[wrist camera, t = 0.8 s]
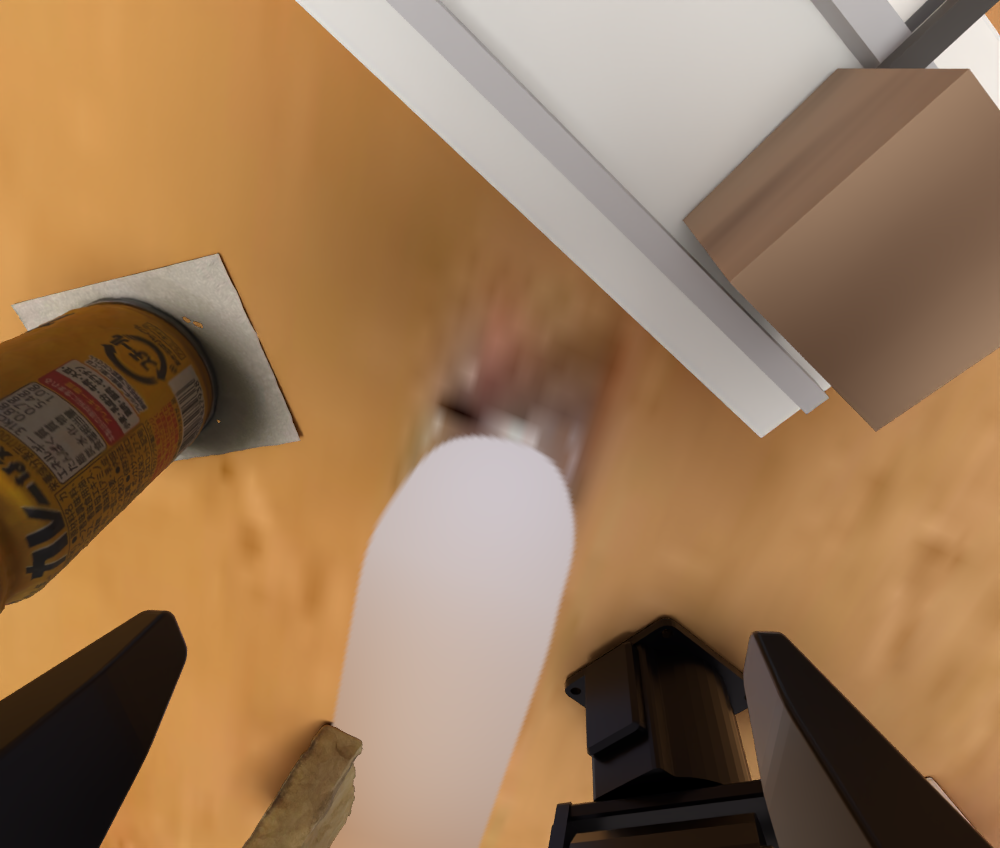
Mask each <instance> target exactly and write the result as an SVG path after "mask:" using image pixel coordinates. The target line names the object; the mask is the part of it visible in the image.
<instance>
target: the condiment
mask: <svg viewBox="0 0 1000 848" xmlns="http://www.w3.org/2000/svg"><path fill="white" fill-rule="evenodd" d="M11 306H12V307H13V309H14V310H15V311H16V313H17V314H18V315H19V318H20V320H21V321H22V322H23V324H24V326H25V327H26V329H27V330H28V331H27V332H25V333H24V334H21V335H20V336H17V337H15V338H13V339H10V340H7V341H5V342H2V343H1V344H0V613H1V612H2V611H3V609H4V608H5V605H9V604H12V603H17V602H19V601H21V600H23V599H27V598H29V597H31V596H33V595H34V594H35V593H37V592H38V591H40V590H41V589H42V588H44V587H45V585H46V584H47V583H48V582H49V581H50V580H52V579H53V578H54V577H55V576H56V575H57V574H58V573H59V572H60V571H61V570H62V569H63V568H64V567H66V566H67V565H68V564H69V562H70V561H71V560H73V559H74V558H75V557H76V556H77V555H78V553H79V552H80V551H81V550H82V549H84V548H85V547H86V546H88V544H89V543H90V542H91V541H92V540H93V539H94V538H95V537H96V536H97V535H98V534H99V533H100V532H101V531H102V530H103V529H104V528H105V527H106V526H107V525H108V524H109V523H110V522H111V521H112V520H113V519H114V518H115V517H116V516H117V515H118V514H119V513H120V512H122V511H123V510H124V509H125V508H126V507H127V506H128V505H129V504H130V503H131V502H132V501H133V500H134V499H135V497H136V496H138V495H139V494H140V493H141V492H142V491H143V490H144V489H145V488H146V487H147V486H148V485H149V484H150V483H151V482H152V481H153V480H154V479H155V478H156V477H157V476H158V475H159V474H160V473H161V472H162V471H163V470H164V469H166V468H167V467H168V466H169V465H170V464H171V463H172V462H173V461H176V460H182V459H190V458H194V457H203V456H209V455H220V454H225V453H229V452H233V451H241V450H245V449H249V448H256V447H262V446H271V445H280V444H284V443H289V442H295V441H300V439H299V436H298V433H297V431H296V428H295V426H294V424H293V422H292V417H291V414H290V412H289V410H288V408H287V405H286V403H285V400H284V398H283V395H282V393H281V391H280V389H279V387H278V385H277V382H276V378H275V376H274V374H273V372H272V370H271V368H270V365H269V363H268V361H267V359H266V357H265V354H264V352H263V350H262V348H261V345H260V343H259V338H258V337H257V333H256V332H255V331H254V329H253V327H252V326H251V324H250V322H249V320H248V318H247V316H246V313H245V311H244V309H243V307H242V304H241V301H240V299H239V296H238V294H237V291H236V290H235V288H234V286H233V285H232V283H231V281H230V278H229V276H228V274H227V272H226V270H225V268H224V265H223V263H222V261H221V259H220V256H219V254H214V255H210V256H206V257H202V258H199V259H195V260H191V261H186V262H182V263H178V264H174V265H171V266H167V267H163V268H159V269H155V270H150V271H146V272H142V273H139V274H134V275H130V276H126V277H121V278H117V279H113V280H109V281H105V282H100V283H96V284H92V285H88V286H85V287H81V288H76V289H72V290H68V291H64V292H60V293H56V294H52V295H48V296H45V297H40V298H36V299H32V300H28V301H24V302H21V303H17V304H14V305H11ZM184 316H185V317H186V318H188V319H190V321H191V322H190V323H186V322H185V321H184V320H183V317H184ZM194 321H196V322H199V323H201V324H202V325H203V328H199V327H197V326H195V325H194V324H193V322H194ZM217 420H220V421H221V422H220V423H218V422H217Z"/></svg>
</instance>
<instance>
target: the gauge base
mask: <svg viewBox="0 0 1000 848" xmlns="http://www.w3.org/2000/svg"><path fill="white" fill-rule="evenodd" d="M295 1H296V2H298V3H299V4H300V5H301V6H302V7H303V8H304V9H305V10H306V11H307V12H308V13H309V14H310V15H311V16H312V17H313V18H315V19H316V20H317V21H318V22H319V23H320V24H321V25H322V26H323V27H324V28H325V29H326V30H327V31H328V32H329V33H331V34H332V35H333V36H334V37H335V38H336V39H337V40H338V41H339V42H340V43H341V44H342V45H343V46H344V47H345V48H346V49H348V50H349V51H350V52H351V53H352V54H353V55H354V56H355V57H356V58H357V59H358V60H359V61H360V62H361V63H362V64H364V65H365V66H366V67H367V68H368V69H369V70H370V71H371V72H372V73H373V74H374V75H375V76H376V77H377V78H378V79H379V80H381V81H382V82H383V83H384V84H385V85H386V86H387V87H388V88H389V89H390V90H391V91H392V92H393V93H394V94H395V95H396V96H398V97H399V98H400V99H401V100H402V101H403V102H404V103H405V104H406V105H407V106H408V107H409V108H410V109H411V110H412V111H414V112H415V113H416V114H417V115H418V116H419V117H420V118H421V119H422V120H423V121H424V122H425V123H426V124H427V125H428V126H429V127H431V128H432V129H433V130H434V131H435V132H436V133H437V134H438V135H439V136H440V137H441V138H442V139H443V140H444V141H445V142H447V143H448V144H449V145H450V146H451V147H452V148H453V149H454V150H455V151H456V152H457V153H458V154H459V155H460V156H461V157H462V158H464V159H465V160H466V161H467V162H468V163H469V164H470V165H471V166H472V167H473V168H474V169H475V170H476V171H477V172H478V173H479V174H481V175H482V176H483V177H484V178H485V179H486V180H487V181H488V182H489V183H490V184H491V185H492V186H493V187H494V188H495V189H497V190H498V191H499V192H500V193H501V194H502V195H503V196H504V197H505V198H506V199H507V200H508V201H509V202H510V203H511V204H512V205H514V206H515V207H516V208H517V209H518V210H519V211H520V212H521V213H522V214H523V215H524V216H525V217H526V218H527V219H528V220H530V221H531V222H532V223H533V224H534V225H535V226H536V227H537V228H538V229H539V230H540V231H541V232H542V233H543V234H544V235H545V236H547V237H548V238H549V239H550V240H551V241H552V242H553V243H554V244H555V245H556V246H557V247H558V248H559V249H560V250H561V251H562V252H564V253H565V254H566V255H567V256H568V257H569V258H570V259H571V260H572V261H573V262H574V263H575V264H576V265H577V266H578V267H580V268H581V269H582V270H583V271H584V272H585V273H586V274H587V275H588V276H589V277H590V278H591V279H592V280H593V281H594V282H595V283H597V284H598V285H599V286H600V287H601V288H602V289H603V290H604V291H605V292H606V293H607V294H608V295H609V296H610V297H611V298H612V299H614V300H615V301H616V302H617V303H618V304H619V305H620V306H621V307H622V308H623V309H624V310H625V311H626V312H627V313H628V314H630V315H631V316H632V317H633V318H634V319H635V320H636V321H637V322H638V323H639V324H640V325H641V326H642V327H643V328H644V329H645V330H647V331H648V332H649V333H650V334H651V335H652V336H653V337H654V338H655V339H656V340H657V341H658V342H659V343H660V344H661V345H663V346H664V347H665V348H666V349H667V350H668V351H669V352H670V353H671V354H672V355H673V356H674V357H675V358H676V359H677V360H678V361H680V362H681V363H682V364H683V365H684V366H685V367H686V368H687V369H688V370H689V371H690V372H691V373H692V374H693V375H694V376H695V377H697V378H698V379H699V380H700V381H701V382H702V383H703V384H704V385H705V386H706V387H707V388H708V389H709V390H710V391H711V392H713V393H714V394H715V395H716V396H717V397H718V398H719V399H720V400H721V401H722V402H723V403H724V404H725V405H726V406H727V407H728V408H730V409H731V410H732V411H733V412H734V413H735V414H736V415H737V416H738V417H739V418H740V419H741V420H742V421H743V422H744V423H746V424H747V425H748V426H749V427H750V428H751V429H752V430H753V431H754V432H755V433H756V434H757V435H758V436H759V437H760V438H762V437H763V436H765V435H766V434H767V433H769V432H770V431H771V430H773V429H774V428H776V427H777V426H778V425H780V424H781V423H782V422H784V421H785V420H786V419H788V418H789V417H790V416H792V415H793V414H794V413H796V412H797V411H798V410H800V409H802V410H803V411H804V412H805V413H806V414H808V413H809V412H811V411H812V410H813V409H815V408H816V407H817V406H819V405H820V404H821V403H823V402H824V401H826V400H827V399H828V398H829V397H828V396H827V394H826V393H825V392H824V391H825V390H827V389H828V388H830V387H831V385H830V384H829V383H828V382H827V381H826V380H825V379H824V378H823V377H822V376H821V375H820V374H819V373H818V372H817V371H816V370H815V369H814V368H813V367H812V366H811V365H810V364H809V363H808V362H807V361H806V360H805V359H804V358H803V357H802V356H801V355H800V354H799V353H798V352H797V351H796V350H795V349H794V348H793V347H792V346H791V345H790V344H789V343H788V342H787V340H786V339H785V338H784V337H783V336H782V335H781V334H780V333H779V332H778V331H777V330H776V329H775V328H774V327H773V326H772V325H771V324H770V323H769V322H768V321H767V320H766V319H765V318H764V317H763V316H762V315H761V314H760V313H759V312H758V311H757V310H756V309H755V308H754V307H753V306H752V305H751V304H750V303H749V302H748V301H747V300H746V299H745V298H744V297H743V296H742V295H741V294H740V293H739V292H738V291H737V289H736V288H735V287H734V286H733V285H732V284H731V283H730V282H729V281H728V280H727V278H726V277H725V276H724V274H723V273H722V272H721V270H720V269H719V268H718V266H717V265H716V264H715V262H714V261H713V260H712V258H711V257H710V256H709V254H708V253H707V252H706V250H705V249H704V248H703V246H702V245H701V244H700V243H699V241H698V240H697V239H696V237H695V236H694V235H693V233H692V232H691V231H690V229H689V228H688V227H687V225H686V224H685V223H684V221H683V219H684V218H685V217H686V216H687V215H688V214H689V213H691V212H692V211H693V210H694V209H695V208H696V207H697V206H698V205H699V204H700V203H701V202H702V201H703V200H704V199H705V198H706V197H707V196H708V195H709V194H710V193H711V192H712V191H713V190H714V189H715V188H716V187H717V186H718V185H719V184H720V183H721V182H722V181H723V180H724V179H725V178H726V177H727V176H728V175H729V174H730V173H731V172H732V171H733V170H734V169H735V168H736V167H737V166H739V165H740V164H741V163H742V162H743V161H744V160H745V159H746V158H747V157H748V156H749V155H750V154H751V153H752V152H753V151H754V150H755V149H756V148H757V147H758V146H759V145H760V144H761V143H762V142H763V141H764V140H765V139H766V138H767V137H768V136H769V135H770V134H771V133H772V132H773V131H774V130H775V129H776V128H777V127H778V126H779V125H780V124H781V123H782V122H783V121H784V120H785V119H787V118H788V117H789V116H790V115H791V114H792V113H793V112H794V111H795V110H796V109H797V108H798V107H799V106H800V105H801V104H802V103H803V102H804V101H805V100H806V99H807V98H808V97H809V96H810V95H811V94H812V93H813V92H814V91H815V90H816V89H817V88H818V87H819V86H820V85H821V84H822V83H823V82H824V81H825V80H826V79H827V78H828V77H829V76H830V75H831V74H832V73H833V72H835V71H836V70H837V69H838V68H864V69H876V68H877V67H878V66H879V65H880V64H881V63H882V62H883V61H884V60H885V59H886V58H887V57H888V56H889V55H890V54H891V53H892V52H893V51H894V50H896V49H897V48H898V47H899V46H900V45H901V44H902V43H903V42H904V41H905V40H906V39H907V38H908V37H909V36H910V35H911V34H912V33H913V32H914V31H915V30H917V29H918V28H919V27H920V26H921V25H922V24H923V23H924V22H925V21H926V20H927V19H928V18H929V17H930V16H931V15H932V14H933V13H934V12H935V11H937V10H938V9H939V8H940V7H941V6H942V5H943V4H944V3H945V2H946V1H947V0H295ZM925 69H970V70H971V72H972V73H973V74H974V76H975V77H976V78H977V80H978V81H979V83H980V84H981V85H982V87H983V88H984V89H985V91H986V92H987V93H988V95H989V96H990V98H991V99H992V100H993V102H994V103H995V104H996V106H997V107H998V108H999V110H1000V35H999V34H998V32H997V31H996V29H995V28H994V26H993V25H992V24H991V22H990V21H989V19H988V18H987V17H986V15H985V14H984V15H983V16H982V17H981V18H979V19H978V20H977V21H976V22H975V23H974V24H973V25H972V26H971V27H970V28H969V29H968V30H966V31H965V32H964V33H963V34H962V35H961V36H960V37H959V38H958V39H957V40H956V41H954V42H953V43H952V44H951V45H950V46H949V47H948V48H947V49H946V50H945V51H944V52H942V53H941V54H940V55H939V56H938V57H937V58H936V59H935V60H934V61H933V62H932V63H930V64H929V65H928V66H927V67H926V68H925Z"/></svg>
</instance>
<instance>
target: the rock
mask: <svg viewBox="0 0 1000 848" xmlns="http://www.w3.org/2000/svg"><path fill="white" fill-rule="evenodd" d="M361 751H362V741H361V740H359V739H357V738H355V737H353V736H351V735H349V734H347V733H345V732H343V731H341V730H340V729H338V728H336V727H333V726H331V725H324V726H322V727H321V729H320V730H319V732H318V733H317V734H316V735H315V737H314V738H313V740H312V742H311V745H310V747H309V749H308V750H307V751H306V752H304V753H303V754H302V755H301V757H300V759H299V760H298V762H297V763H296V765H295V766H294V768H293V769H292V771H291V772H290V774H289V776H288V778H287V779H286V781H285V782H284V784H283V785H282V787H281V789H280V791H279V793H278V794H277V796H276V797H275V799H274V800H273V802H272V803H271V805H270V806H269V808H268V809H267V811H266V812H265V814H264V816H263V817H262V819H261V820H260V821H259V823H258V825H257V827H256V828H255V830H254V832H253V833H252V835H251V836H250V838H249V839H248V840H247V841H246V842H245V844H244V846H243V847H242V848H330V846H331V844H332V842H333V841H334V839H335V838H336V836H337V835H338V833H339V831H340V830H341V829H342V827H343V826H344V824H345V823H346V820H347V817H348V816H349V815H350V814H351V807H352V804H353V801H354V799H355V797H354V791H355V790H354V789H355V788H354V786H353V779H354V778H355V767H354V764H353V762H354V760H355V759H356V757H357V756H358V755H360V754H361Z"/></svg>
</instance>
